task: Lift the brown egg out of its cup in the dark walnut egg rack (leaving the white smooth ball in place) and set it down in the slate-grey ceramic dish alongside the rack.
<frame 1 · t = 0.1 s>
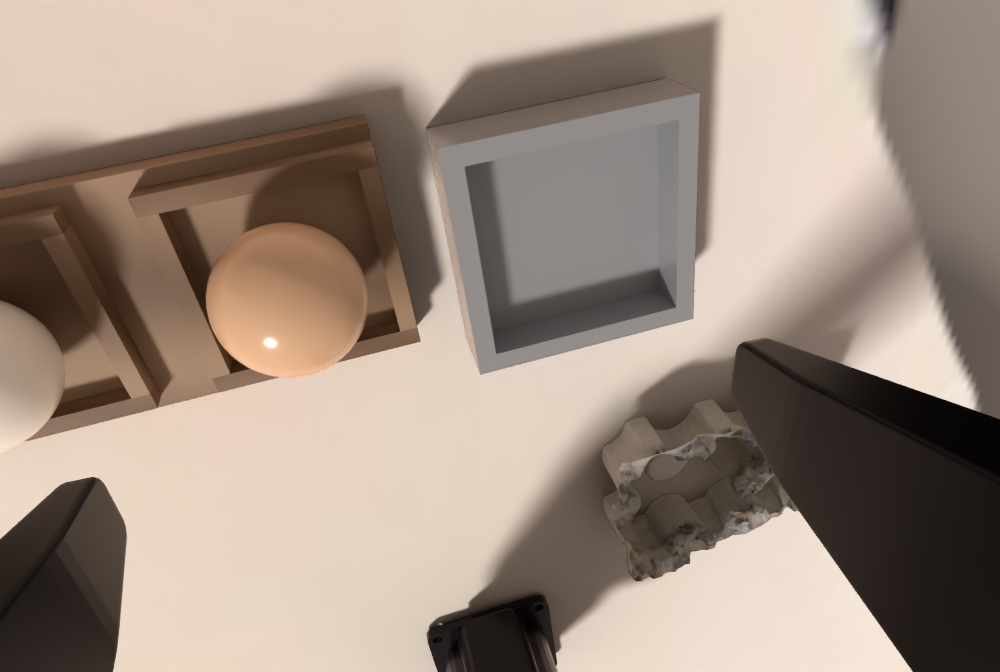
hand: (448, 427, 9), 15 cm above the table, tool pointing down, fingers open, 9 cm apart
egg brown: (290, 267, 22), point 1 cm above the table, touching rack
rack: (154, 286, 22), on the table
egg carton: (694, 445, 33), on the table
dish: (559, 219, 24), on the table
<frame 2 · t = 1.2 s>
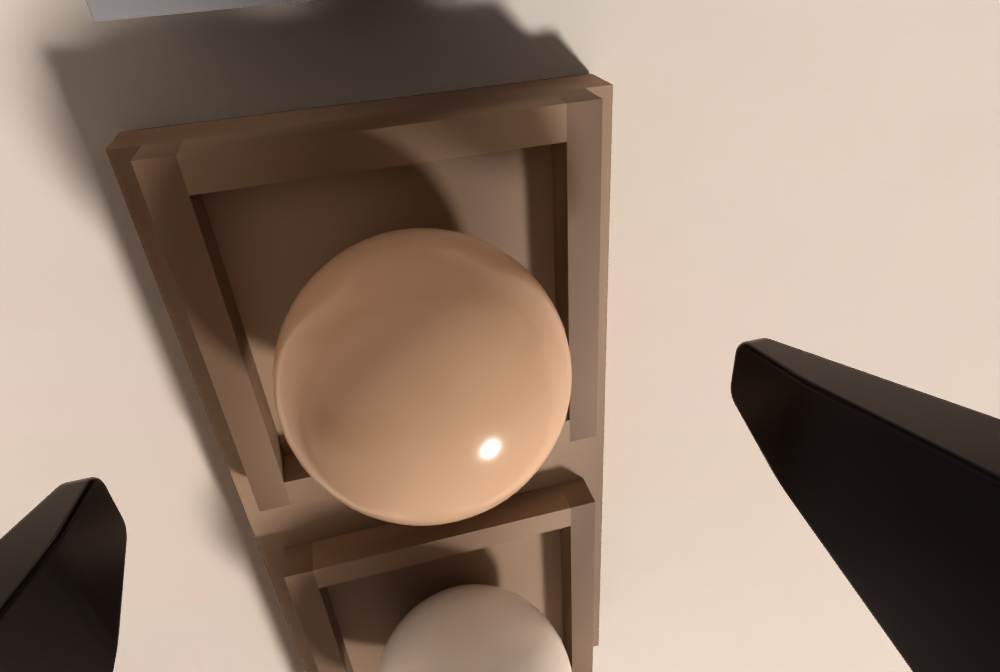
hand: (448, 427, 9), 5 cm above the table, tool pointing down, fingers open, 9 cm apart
white smooth ball: (455, 606, 17), point 1 cm above the table, touching rack
egg brown: (406, 306, 12), point 1 cm above the table, touching rack
rack: (427, 451, 16), on the table
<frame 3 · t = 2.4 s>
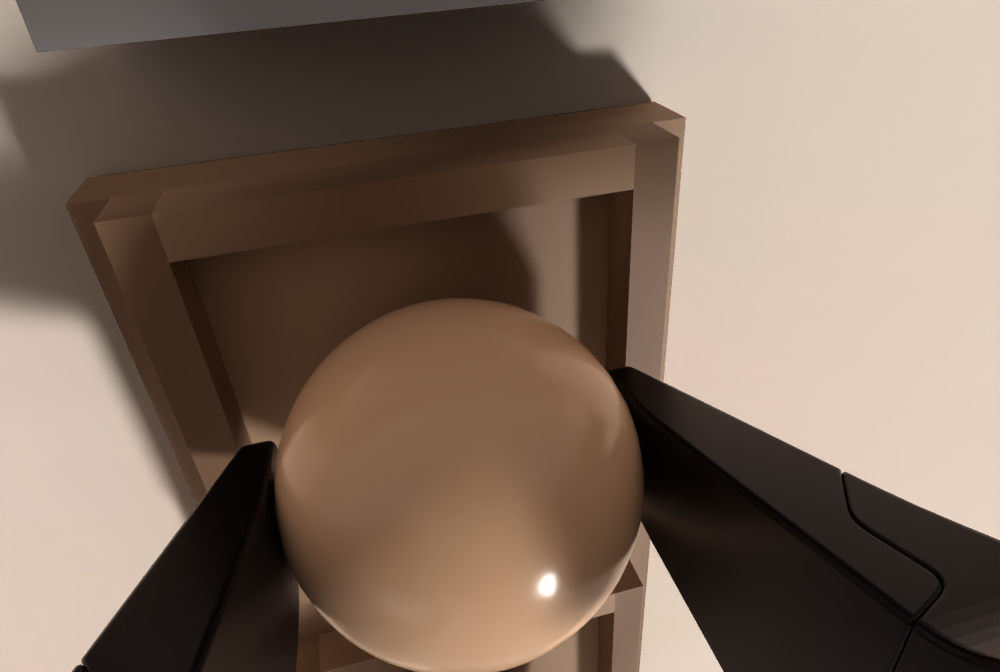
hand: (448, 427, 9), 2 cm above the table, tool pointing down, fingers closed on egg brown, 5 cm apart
egg brown: (432, 376, 11), point 1 cm above the table, touching gripper, rack
rack: (450, 525, 14), on the table
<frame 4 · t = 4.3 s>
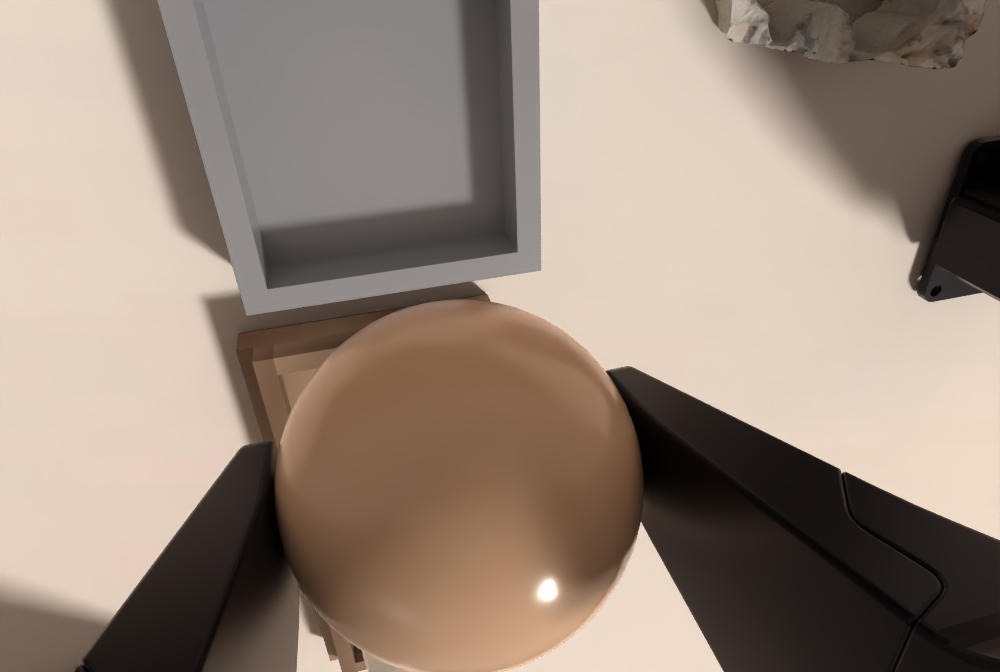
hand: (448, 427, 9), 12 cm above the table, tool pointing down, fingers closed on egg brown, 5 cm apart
white smooth ball: (413, 586, 28), point 1 cm above the table, touching rack
egg brown: (432, 377, 11), point 11 cm above the table, touching gripper
rack: (397, 490, 26), on the table
dish: (371, 122, 19), on the table
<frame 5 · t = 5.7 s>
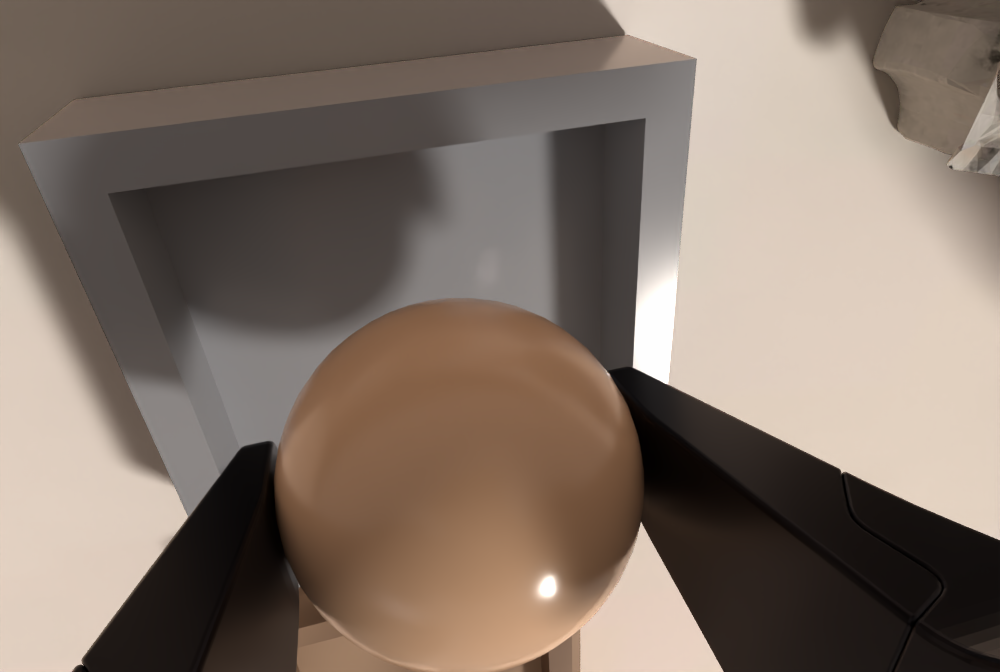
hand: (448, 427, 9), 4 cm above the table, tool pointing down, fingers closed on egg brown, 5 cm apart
egg brown: (432, 376, 11), point 2 cm above the table, touching gripper
dish: (408, 303, 12), on the table
when the fingers open (4 cm above the table, at t = 6.5 s): egg brown drops 1 cm, resting on dish.
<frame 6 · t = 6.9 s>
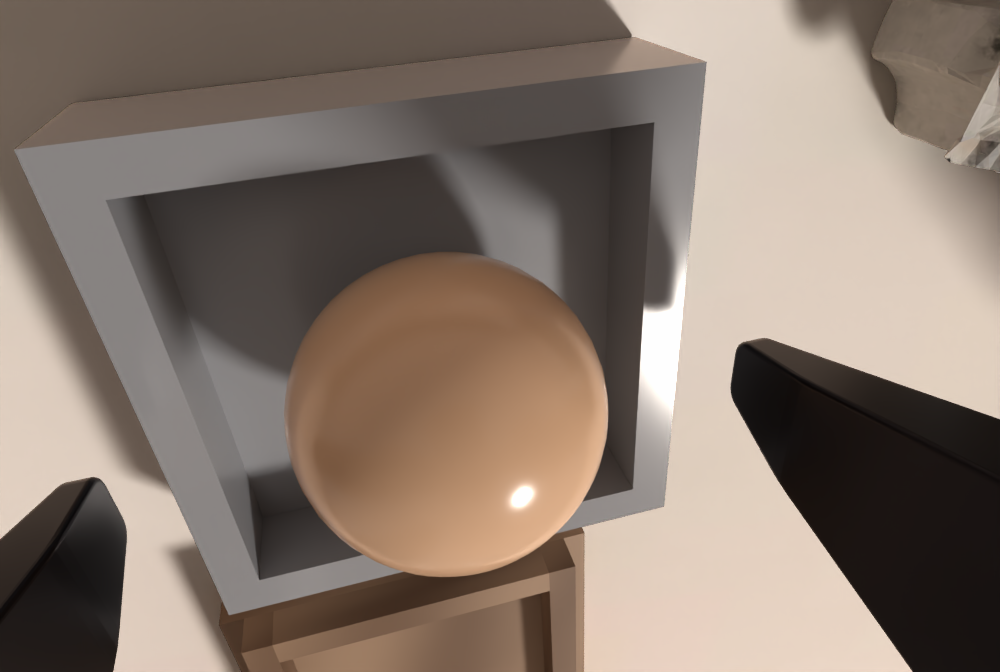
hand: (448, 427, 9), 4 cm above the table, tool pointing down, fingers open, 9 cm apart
egg brown: (418, 331, 12), point 1 cm above the table, touching dish
dish: (412, 308, 12), on the table
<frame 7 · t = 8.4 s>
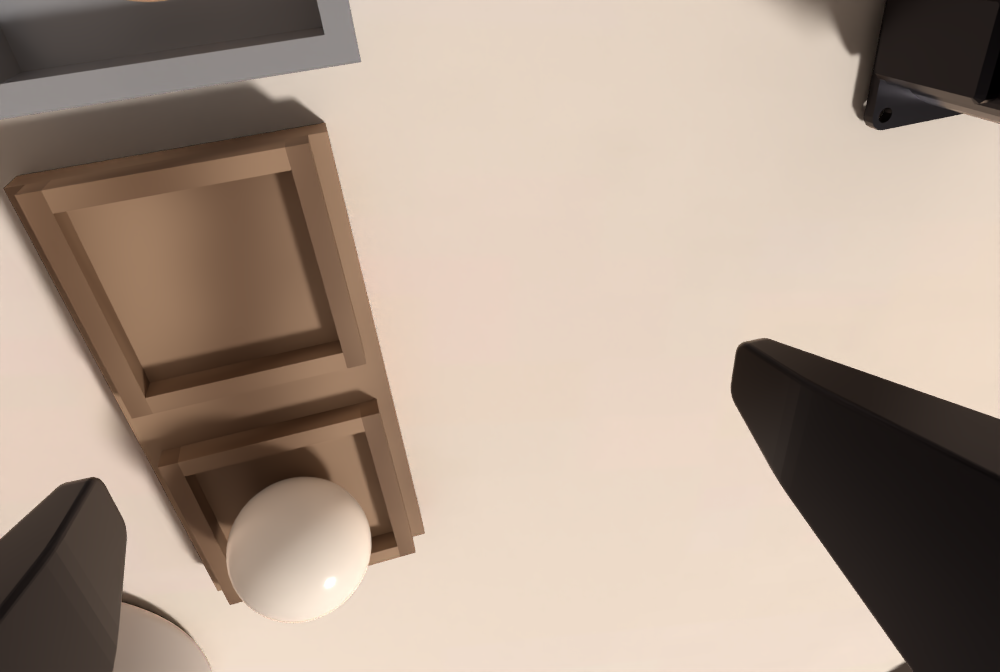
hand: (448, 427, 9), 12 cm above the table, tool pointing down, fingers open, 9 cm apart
white smooth ball: (300, 498, 24), point 1 cm above the table, touching rack
rack: (264, 383, 22), on the table
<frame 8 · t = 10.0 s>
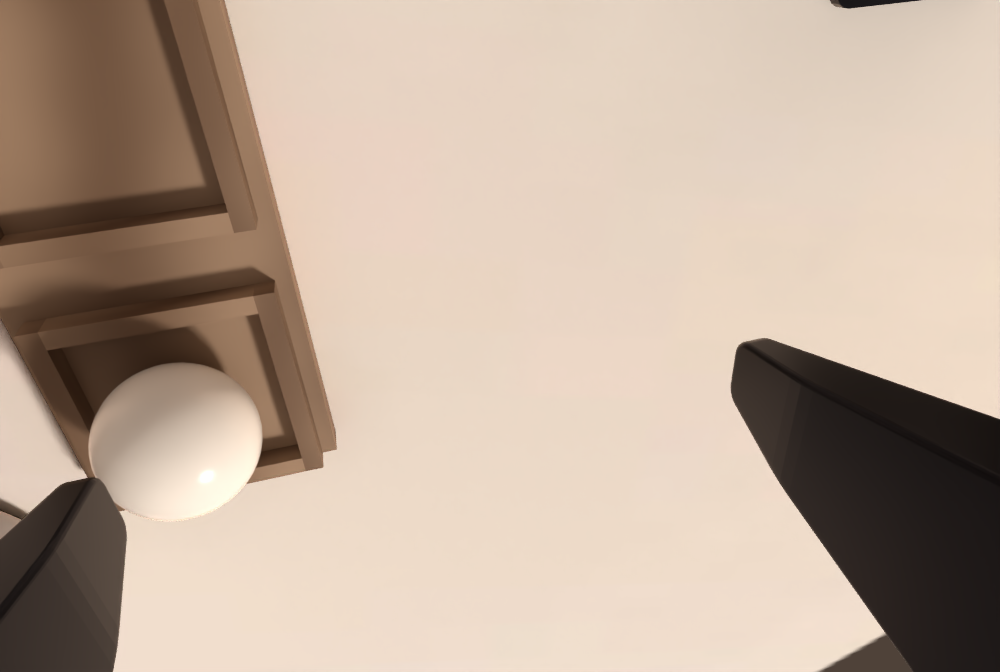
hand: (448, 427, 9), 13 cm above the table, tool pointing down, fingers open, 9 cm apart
white smooth ball: (190, 394, 22), point 1 cm above the table, touching rack
rack: (147, 256, 20), on the table
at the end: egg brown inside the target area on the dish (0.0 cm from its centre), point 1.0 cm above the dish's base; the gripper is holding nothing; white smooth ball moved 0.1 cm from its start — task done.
